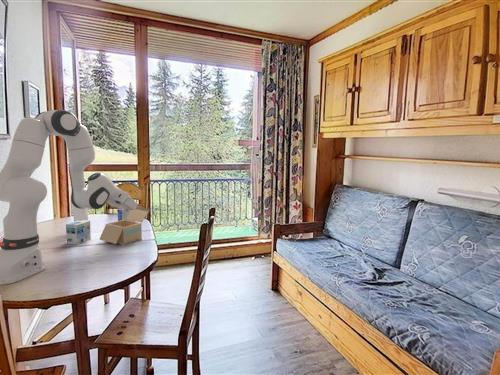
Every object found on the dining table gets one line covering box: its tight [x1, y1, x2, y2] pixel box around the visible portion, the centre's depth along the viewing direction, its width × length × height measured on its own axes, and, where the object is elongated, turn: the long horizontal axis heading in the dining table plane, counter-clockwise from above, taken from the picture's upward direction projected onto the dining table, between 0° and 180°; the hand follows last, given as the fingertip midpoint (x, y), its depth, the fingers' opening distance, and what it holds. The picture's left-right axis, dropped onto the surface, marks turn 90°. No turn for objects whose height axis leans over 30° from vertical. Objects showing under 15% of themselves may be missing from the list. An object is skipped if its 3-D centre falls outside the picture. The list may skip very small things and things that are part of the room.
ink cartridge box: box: [116, 208, 136, 222], centre depth 198 cm, size 10×6×14 cm, turn 147°
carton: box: [99, 220, 143, 245], centre depth 170 cm, size 17×14×9 cm
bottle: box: [72, 204, 89, 222], centre depth 183 cm, size 8×8×30 cm
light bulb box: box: [65, 220, 92, 246], centre depth 166 cm, size 11×7×11 cm, turn 168°
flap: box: [126, 206, 151, 224], centre depth 179 cm, size 9×13×1 cm
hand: (129, 211), depth 173 cm, fingers closed
